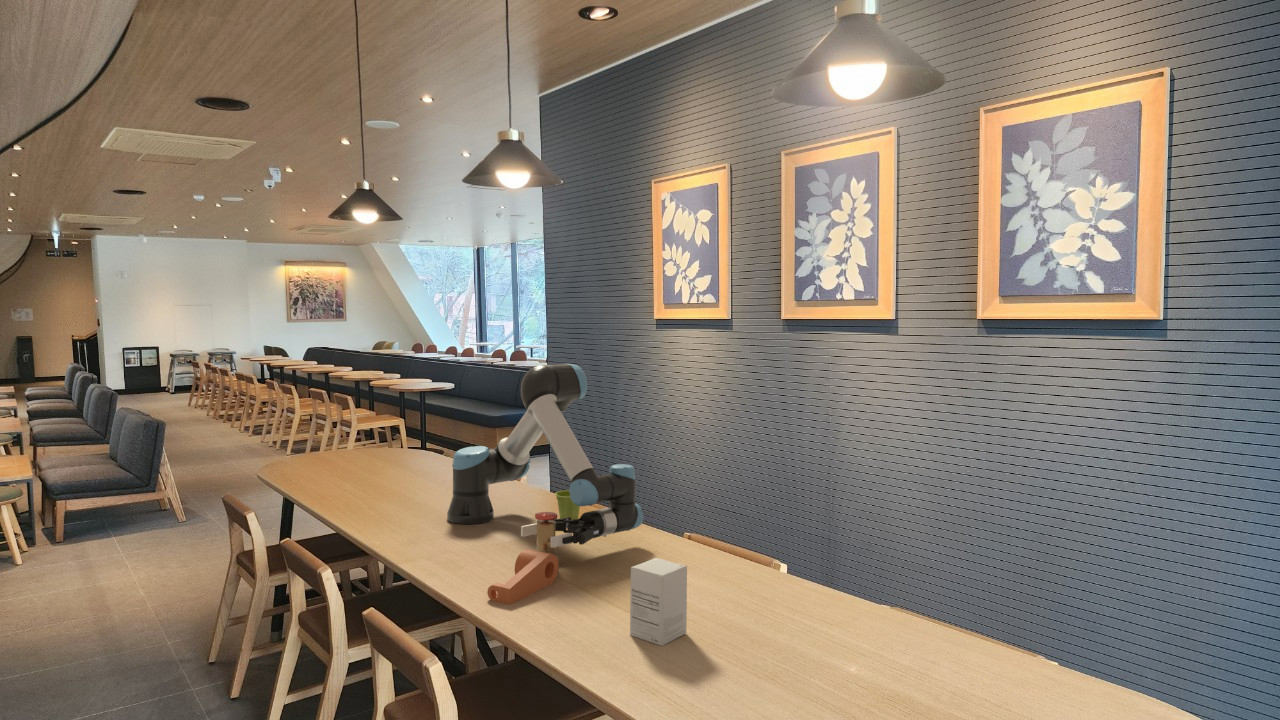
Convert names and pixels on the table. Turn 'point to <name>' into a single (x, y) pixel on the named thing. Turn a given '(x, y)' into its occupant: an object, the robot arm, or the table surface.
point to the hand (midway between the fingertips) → (536, 536)
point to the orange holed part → (526, 577)
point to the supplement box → (658, 601)
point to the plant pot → (567, 505)
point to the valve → (545, 531)
